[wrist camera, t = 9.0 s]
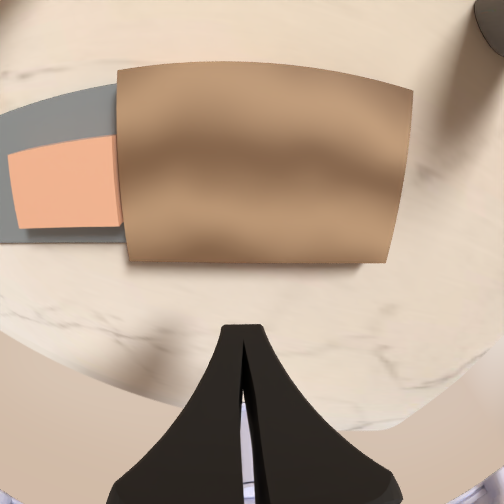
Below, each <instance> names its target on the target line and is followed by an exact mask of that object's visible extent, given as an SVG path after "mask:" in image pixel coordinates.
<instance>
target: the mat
mask: <svg viewBox="0 0 504 504" xmlns="http://www.w3.org/2000/svg"><path fill="white" fill-rule="evenodd" d="M113 134H117V83H116V84H110V85H105V86H99V87H94V88H89V89H85V90H80V91H76V92H72V93H68V94H64V95H60V96H56V97H53V98H49V99H46V100H42V101H39V102H36V103H33V104H29V105H26V106H23V107H21V108H18V109H15V110H12V111H9V112H7V113H4V114H2V115H0V243H26V242H126V235H125V228H124V222H123V223H122V224H121V225H120V226H116V227H60V228H27V229H19V225H18V221H17V216H16V211H15V206H14V200H13V194H12V188H11V181H10V173H9V164H8V155H9V154H12V153H15V152H18V151H21V150H25V149H29V148H33V147H38V146H43V145H48V144H53V143H58V142H64V141H70V140H76V139H82V138H89V137H96V136H104V135H113Z"/></svg>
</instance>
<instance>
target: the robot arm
mask: <svg viewBox="0 0 504 504" xmlns="http://www.w3.org/2000/svg"><path fill="white" fill-rule="evenodd" d="M243 392H244V399H245V403H242V396H243ZM402 500H403V496H402V493H401V490H400V488H399V486H398V483H397V481H396V480H395V478H394V476H393V474H392V472H391V471H389V470H387V469H386V468H384V467H383V466H381V465H379V464H378V463H376V462H374V461H373V460H372V459H370V458H369V457H367V456H366V455H365V454H363V453H362V452H361V451H359V450H358V449H357V448H355V447H354V446H353V445H352V444H350V443H349V442H348V441H347V440H346V439H345V438H343V437H342V436H341V435H340V434H339V433H338V432H337V431H336V430H335V429H333V428H332V427H331V426H330V425H329V424H328V423H327V422H326V421H325V420H324V419H323V418H322V417H321V416H320V415H319V414H318V413H317V411H316V410H315V409H314V408H313V407H312V406H311V405H310V403H309V402H308V401H307V400H306V399H305V397H304V396H303V395H302V394H301V392H300V391H299V390H298V388H297V387H296V385H295V384H294V383H293V381H292V380H291V378H290V377H289V375H288V374H287V372H286V371H285V369H284V367H283V366H282V364H281V363H280V361H279V359H278V358H277V356H276V354H275V352H274V350H273V348H272V346H271V344H270V342H269V340H268V338H267V336H266V333H265V331H264V328H263V326H262V325H261V324H242V325H223V326H222V327H221V332H220V336H219V340H218V343H217V345H216V348H215V351H214V353H213V356H212V358H211V360H210V362H209V365H208V367H207V369H206V371H205V373H204V375H203V377H202V379H201V380H200V382H199V384H198V386H197V388H196V390H195V391H194V393H193V395H192V396H191V398H190V400H189V401H188V403H187V404H186V406H185V407H184V409H183V410H182V412H181V413H180V415H179V416H178V417H177V419H176V420H175V421H174V423H173V424H172V425H171V427H170V428H169V429H168V430H167V432H166V433H165V434H164V435H163V436H162V438H161V439H160V440H159V441H158V442H157V443H156V444H155V445H154V446H153V447H152V449H151V450H150V451H149V452H148V453H147V454H146V455H145V456H144V457H143V458H142V459H141V460H140V461H139V462H138V463H137V464H136V465H135V466H133V467H132V468H131V469H130V470H129V471H128V472H126V473H125V474H124V475H123V476H122V477H121V478H119V480H117V481H116V482H115V483H114V485H113V487H112V489H111V491H110V493H109V496H108V499H107V502H106V504H400V503H401V502H402ZM0 504H24V503H22V502H20V501H18V500H16V499H15V498H13V497H11V496H10V495H8V494H7V493H5V492H4V491H2V490H1V489H0ZM446 504H504V466H503V467H501V468H500V469H498V470H497V471H496V472H494V473H493V474H492V475H490V476H489V477H487V478H486V479H485V480H484V481H482V482H481V483H479V484H478V485H476V486H474V487H473V488H471V489H470V490H468V491H466V492H465V493H463V494H461V495H460V496H458V497H457V498H455V499H453V500H451V501H449V502H448V503H446Z"/></svg>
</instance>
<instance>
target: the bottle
mask: <svg viewBox="0 0 504 504" xmlns="http://www.w3.org/2000/svg"><path fill="white" fill-rule="evenodd" d="M475 15H476V19H477V22H478V25H479V27H480V30H481V32H482V34H483V35H484V37H485V39H486V40H487V42H488V43H489V45H490V46H491V47H492V48H493V49H494V50H495V51H496V52H497V53H498V54H499V55H501V56H503V57H504V0H477V1H476V3H475Z"/></svg>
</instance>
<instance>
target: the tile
mask: <svg viewBox="0 0 504 504" xmlns="http://www.w3.org/2000/svg"><path fill="white" fill-rule="evenodd" d="M8 164H9V173H10V181H11V188H12V194H13V200H14V206H15V211H16V216H17V221H18V225H19V229H27V228H60V227H116V226H120V225H121V224H122V223H123V222H124V220H123V212H122V203H121V193H120V182H119V168H118V151H117V134H113V135H104V136H96V137H89V138H82V139H76V140H70V141H64V142H58V143H53V144H48V145H43V146H38V147H33V148H29V149H25V150H21V151H18V152H15V153H12V154H9V155H8Z"/></svg>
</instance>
